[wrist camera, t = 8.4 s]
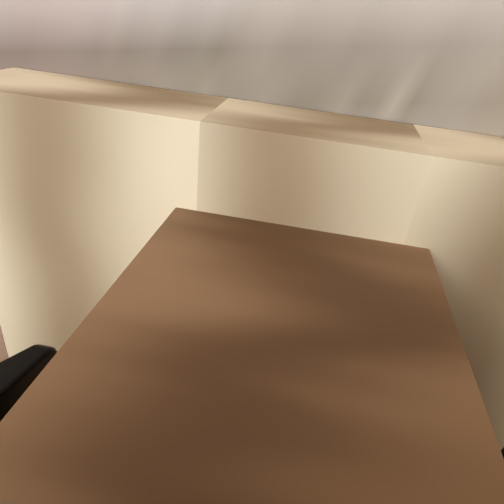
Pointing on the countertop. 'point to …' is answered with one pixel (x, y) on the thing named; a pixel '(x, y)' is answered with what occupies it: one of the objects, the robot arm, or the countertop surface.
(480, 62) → the countertop surface
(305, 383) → the walnut peg
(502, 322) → the birch board
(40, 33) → the countertop surface
